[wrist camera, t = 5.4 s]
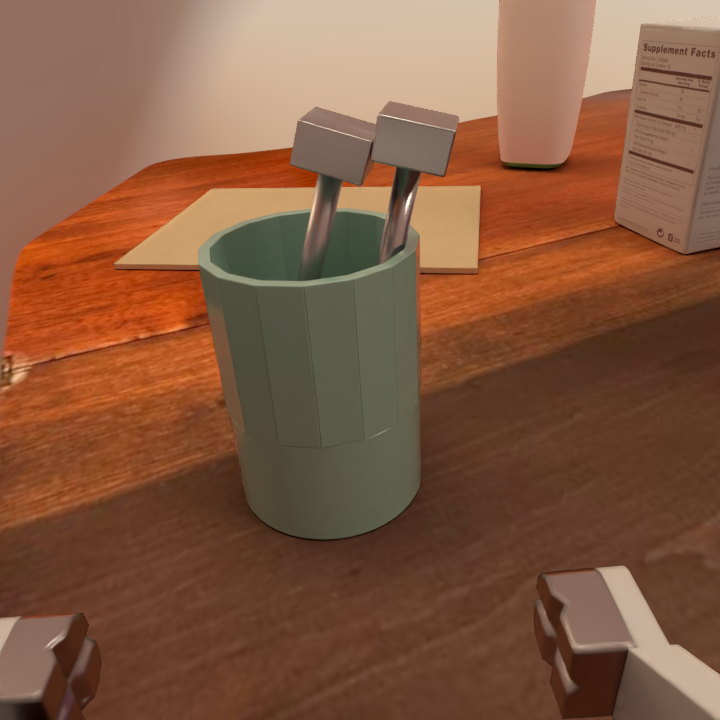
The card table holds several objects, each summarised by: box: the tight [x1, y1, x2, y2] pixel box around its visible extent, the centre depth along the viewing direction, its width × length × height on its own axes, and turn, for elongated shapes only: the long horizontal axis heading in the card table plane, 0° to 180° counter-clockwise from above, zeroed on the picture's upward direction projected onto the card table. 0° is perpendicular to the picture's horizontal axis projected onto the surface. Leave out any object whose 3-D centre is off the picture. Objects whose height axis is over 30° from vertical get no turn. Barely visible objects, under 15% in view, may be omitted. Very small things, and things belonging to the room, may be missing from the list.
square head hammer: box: [290, 107, 376, 281], centre depth 19 cm, size 2×2×9 cm
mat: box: [114, 186, 481, 274], centre depth 48 cm, size 24×18×1 cm
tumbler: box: [198, 208, 421, 540], centre depth 21 cm, size 6×6×9 cm
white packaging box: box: [614, 16, 720, 254], centre depth 40 cm, size 7×7×13 cm
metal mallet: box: [370, 101, 459, 266], centre depth 19 cm, size 2×2×9 cm
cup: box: [497, 0, 596, 168], centre depth 57 cm, size 7×7×15 cm
